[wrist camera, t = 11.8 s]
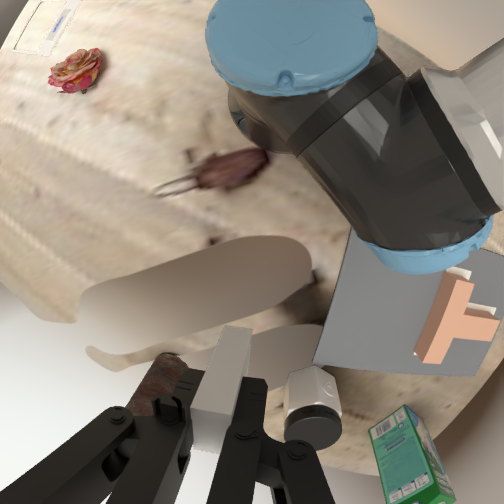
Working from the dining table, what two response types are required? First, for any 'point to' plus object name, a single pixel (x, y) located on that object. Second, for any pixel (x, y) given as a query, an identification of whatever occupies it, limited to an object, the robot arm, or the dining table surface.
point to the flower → (76, 71)
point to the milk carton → (409, 461)
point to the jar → (312, 408)
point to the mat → (402, 314)
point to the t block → (453, 320)
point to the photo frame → (53, 28)
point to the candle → (156, 383)
